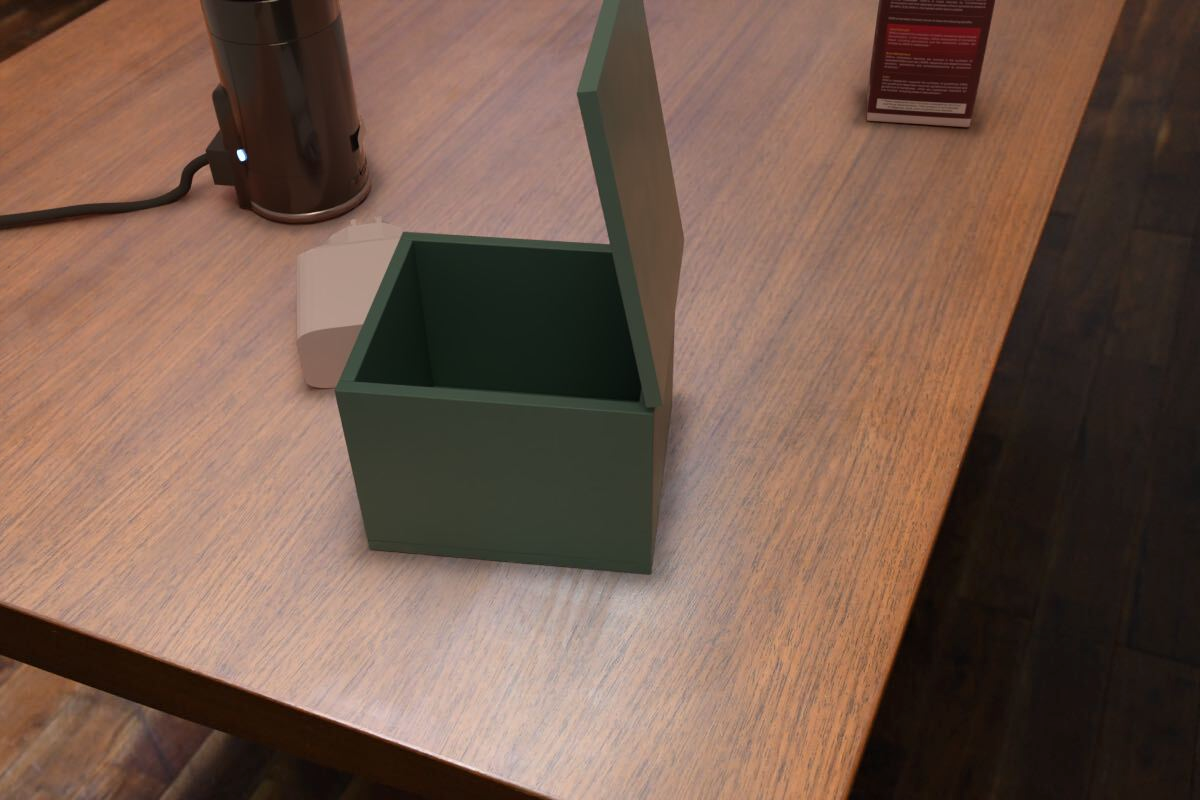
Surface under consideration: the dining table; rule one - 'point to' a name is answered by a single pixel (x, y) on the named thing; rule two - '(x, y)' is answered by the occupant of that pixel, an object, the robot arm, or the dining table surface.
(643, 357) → the lid
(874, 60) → the supplement box
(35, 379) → the dining table surface
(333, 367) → the charger
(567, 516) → the chest
